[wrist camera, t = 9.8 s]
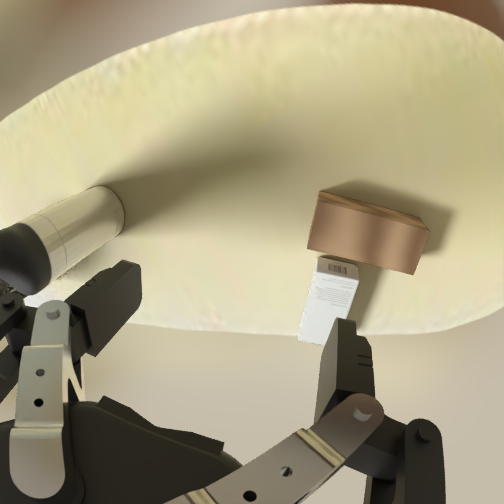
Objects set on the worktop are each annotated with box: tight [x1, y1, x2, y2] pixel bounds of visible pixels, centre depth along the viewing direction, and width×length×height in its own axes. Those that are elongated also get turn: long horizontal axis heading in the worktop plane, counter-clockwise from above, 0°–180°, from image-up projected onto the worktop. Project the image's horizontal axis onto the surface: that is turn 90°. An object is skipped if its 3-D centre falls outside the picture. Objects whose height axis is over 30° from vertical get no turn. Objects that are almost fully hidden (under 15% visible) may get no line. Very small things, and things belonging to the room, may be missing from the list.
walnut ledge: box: [307, 191, 430, 275], centre depth 37 cm, size 14×6×5 cm, turn 81°
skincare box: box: [298, 257, 359, 346], centre depth 43 cm, size 6×4×12 cm
